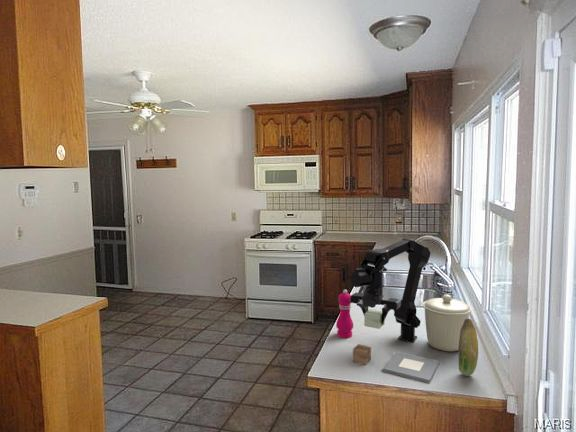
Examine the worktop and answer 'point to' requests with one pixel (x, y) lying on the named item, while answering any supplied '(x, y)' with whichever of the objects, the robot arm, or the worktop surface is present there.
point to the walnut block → (362, 354)
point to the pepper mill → (344, 316)
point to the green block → (373, 319)
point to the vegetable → (468, 348)
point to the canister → (445, 321)
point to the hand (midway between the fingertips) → (374, 322)
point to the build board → (411, 366)
